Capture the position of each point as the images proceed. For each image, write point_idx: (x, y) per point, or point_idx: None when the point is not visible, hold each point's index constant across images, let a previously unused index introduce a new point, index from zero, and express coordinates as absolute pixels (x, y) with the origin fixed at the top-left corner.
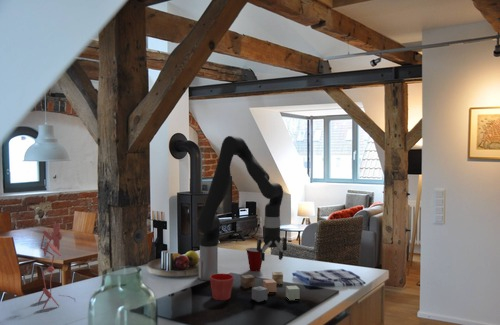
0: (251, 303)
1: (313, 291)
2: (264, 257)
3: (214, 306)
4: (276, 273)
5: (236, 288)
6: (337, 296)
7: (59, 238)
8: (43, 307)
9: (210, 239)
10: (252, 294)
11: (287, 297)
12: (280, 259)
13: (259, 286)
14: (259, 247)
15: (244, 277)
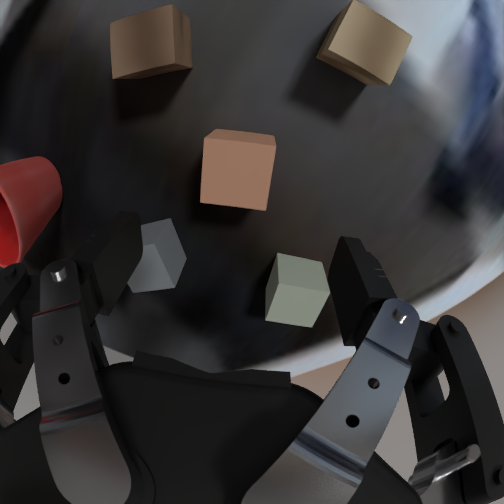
0: None
1: (416, 238)
2: (128, 278)
3: (34, 252)
4: (364, 39)
5: (103, 74)
6: (429, 304)
7: None
8: None
9: None
10: None
11: (270, 277)
12: (329, 280)
13: (147, 245)
14: (18, 359)
15: (113, 62)
